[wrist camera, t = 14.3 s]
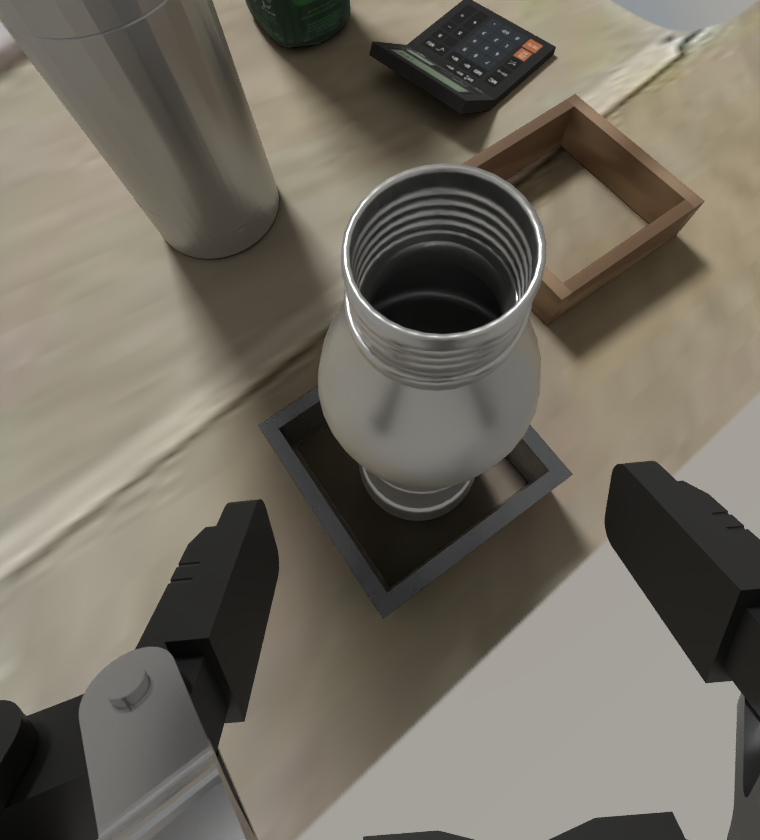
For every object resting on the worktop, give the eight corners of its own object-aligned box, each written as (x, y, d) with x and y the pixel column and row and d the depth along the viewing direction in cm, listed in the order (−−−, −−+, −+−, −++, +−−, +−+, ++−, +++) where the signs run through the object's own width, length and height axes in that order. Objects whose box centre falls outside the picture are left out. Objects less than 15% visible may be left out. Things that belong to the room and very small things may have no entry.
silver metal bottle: (478, 425, 27) (647, 118, 8) (460, 536, 25) (623, 472, 6) (376, 405, 28) (314, 83, 9) (351, 512, 26) (205, 390, 7)
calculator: (552, 58, 36) (564, 15, 34) (457, 141, 34) (462, 103, 32) (465, 8, 39) (470, -35, 36) (371, 84, 37) (368, 44, 34)
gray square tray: (278, 443, 28) (257, 425, 24) (428, 342, 29) (431, 310, 25) (386, 609, 25) (382, 618, 21) (548, 486, 26) (572, 474, 22)
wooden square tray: (437, 210, 32) (441, 176, 29) (560, 133, 34) (575, 94, 31) (546, 325, 29) (561, 299, 26) (676, 234, 31) (704, 201, 28)
